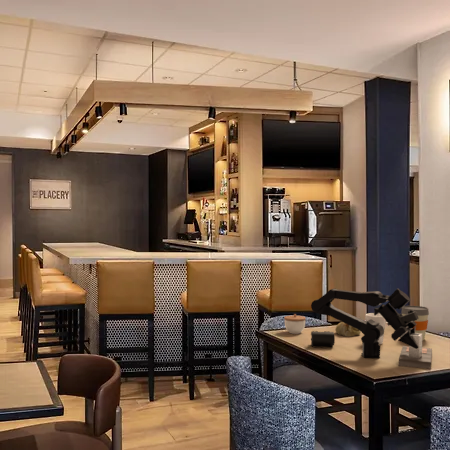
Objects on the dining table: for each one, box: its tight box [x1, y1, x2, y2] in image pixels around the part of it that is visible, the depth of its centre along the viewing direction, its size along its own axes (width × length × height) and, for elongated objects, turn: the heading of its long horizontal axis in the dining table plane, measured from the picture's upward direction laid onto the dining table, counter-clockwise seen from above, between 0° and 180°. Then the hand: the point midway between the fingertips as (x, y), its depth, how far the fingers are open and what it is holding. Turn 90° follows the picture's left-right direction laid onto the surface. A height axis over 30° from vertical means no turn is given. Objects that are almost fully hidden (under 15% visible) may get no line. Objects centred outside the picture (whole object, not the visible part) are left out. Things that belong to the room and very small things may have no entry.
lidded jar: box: [284, 313, 307, 335], centre depth 279 cm, size 11×11×9 cm
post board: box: [398, 345, 433, 370], centre depth 227 cm, size 24×12×6 cm, turn 158°
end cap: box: [310, 330, 336, 348], centre depth 250 cm, size 10×7×7 cm
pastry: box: [335, 321, 361, 338], centre depth 277 cm, size 14×12×8 cm
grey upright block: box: [408, 333, 423, 358], centre depth 222 cm, size 4×5×9 cm
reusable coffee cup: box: [400, 305, 430, 341], centre depth 266 cm, size 13×12×15 cm
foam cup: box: [364, 312, 387, 345], centre depth 257 cm, size 10×9×13 cm
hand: (419, 346), depth 221 cm, fingers closed on grey upright block, 5 cm apart
